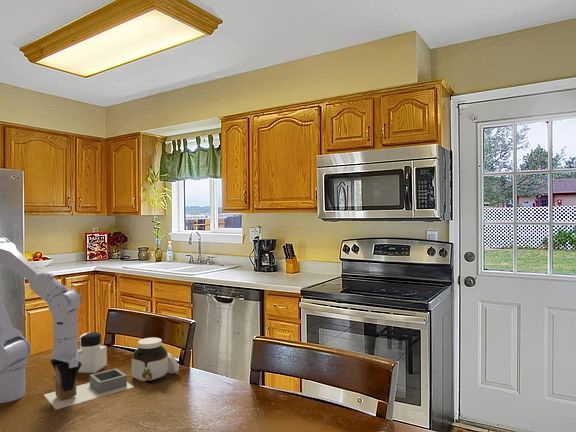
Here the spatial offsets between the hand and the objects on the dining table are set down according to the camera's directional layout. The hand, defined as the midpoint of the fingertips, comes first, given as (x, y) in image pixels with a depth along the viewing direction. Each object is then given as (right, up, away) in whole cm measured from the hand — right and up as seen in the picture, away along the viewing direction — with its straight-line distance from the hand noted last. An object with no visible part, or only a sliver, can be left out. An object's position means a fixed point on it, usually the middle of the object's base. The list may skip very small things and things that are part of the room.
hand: (65, 387), depth 113 cm
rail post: (0, -2, 0) cm, 2 cm away
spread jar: (+19, -4, +16) cm, 25 cm away
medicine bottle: (-3, -4, +21) cm, 22 cm away
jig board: (+4, -4, +4) cm, 7 cm away
